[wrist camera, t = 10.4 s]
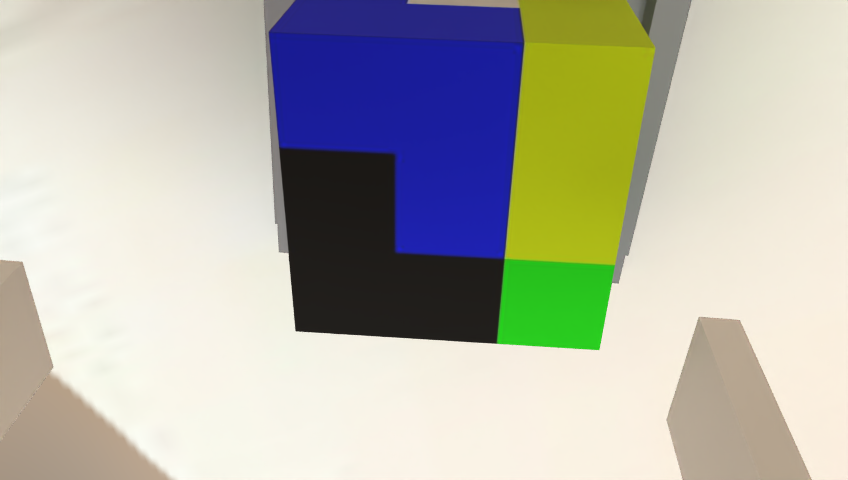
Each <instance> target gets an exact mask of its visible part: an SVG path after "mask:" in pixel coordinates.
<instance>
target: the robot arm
mask: <svg viewBox="0 0 848 480" xmlns="http://www.w3.org/2000/svg"><path fill="white" fill-rule="evenodd" d="M52 368H53V364H52V360H51V357H50V354H49V350H48V347H47V343H46V340H45V337H44V333H43V330H42V327H41V323H40V320H39V316H38V313H37V310H36V306H35V303H34V299H33V296H32V293H31V289H30V286H29V283H28V279H27V276H26V272H25V269H24V266H23V262H18V261H6V260H0V441H1V440H2V438H3V437H4V436H5V434H6V433H7V431H8V430H9V429H10V427H11V426H12V424H13V423H14V422H15V420H16V419H17V417H18V416H19V414H20V413H21V412H22V410H23V409H24V408H25V406H26V405H27V403H28V402H29V401H30V399H31V398H32V396H33V395H34V394H35V392H36V391H37V389H38V388H39V387H40V385H41V384H42V382H43V381H44V380H45V378H46V377H47V375H48V374H49V373H50V371H51V370H52ZM667 423H668V427H669V431H670V434H671V438H672V442H673V445H674V449H675V453H676V456H677V460H678V464H679V468H680V471H681V475H682V479H683V480H812V479H811V477H810V475H809V473H808V470H807V468H806V466H805V464H804V462H803V459H802V457H801V455H800V453H799V450H798V448H797V446H796V444H795V442H794V439H793V437H792V435H791V433H790V431H789V428H788V426H787V424H786V422H785V419H784V417H783V415H782V413H781V411H780V408H779V406H778V404H777V402H776V399H775V397H774V395H773V393H772V391H771V388H770V386H769V384H768V382H767V379H766V377H765V375H764V373H763V371H762V368H761V366H760V364H759V362H758V360H757V357H756V355H755V353H754V351H753V348H752V346H751V344H750V342H749V340H748V337H747V335H746V333H745V331H744V328H743V326H742V324H741V322H740V320H732V319H720V318H708V317H699V318H698V321H697V325H696V328H695V331H694V334H693V337H692V340H691V344H690V347H689V350H688V353H687V356H686V360H685V363H684V366H683V369H682V372H681V375H680V379H679V382H678V385H677V388H676V391H675V394H674V398H673V401H672V404H671V407H670V410H669V413H668V417H667Z"/></svg>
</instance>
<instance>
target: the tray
mask: <svg viewBox="0 0 848 480" xmlns="http://www.w3.org/2000/svg"><path fill="white" fill-rule="evenodd" d="M294 1H295V0H264V16H265V35H266V54H267V74H268V93H269V113H270V132H271V151H272V171H273V190H274V210H275V224H278V244H279V252H283V253H289V252H288V241H287V230H286V219H285V208H284V197H283V186H282V175H281V164H280V153H279V142H278V131H277V120H276V109H275V98H274V88H273V77H272V66H271V55H270V44H269V33H268V32H269V31H270V29H271V28H272V27H273V26H274V25H275V24H276V22H277V21H278V20H279V19H280V18H281V17H282V15H283V14H284V13H285V12H286V11H287V9H288V8H289V7H290V6H291V5H292V4H293V2H294ZM627 2H628V3H629V5H630V7H631V8H632V10H633V12H634V13H635V15H636V17H637V18H638V20H639V21H640V23H641V25H642V26H643V28H644V30H645V31H646V33H647V35H648V36H649V38H650V39H651V41H652V43H653V44H654V46H655V54H654V59H653V64H652V70H651V75H650V81H649V86H648V91H647V97H646V102H645V107H644V113H643V118H642V123H641V129H640V134H639V140H638V145H637V150H636V156H635V161H634V166H633V172H632V177H631V182H630V188H629V193H628V199H627V204H626V209H625V215H624V220H623V225H622V231H621V236H620V242H619V247H618V252H617V258H616V263H615V268H614V274H613V279H612V283H619V279H620V275H621V271H622V267H623V263H624V259H625V255H626V256H628V254H629V250H630V246H631V242H632V238H633V234H634V230H635V226H636V222H637V218H638V214H639V210H640V206H641V202H642V198H643V194H644V190H645V186H646V182H647V177H648V173H649V169H650V165H651V161H652V157H653V153H654V149H655V145H656V141H657V137H658V133H659V129H660V125H661V121H662V117H663V113H664V109H665V105H666V101H667V97H668V93H669V89H670V85H671V81H672V76H673V72H674V68H675V64H676V60H677V56H678V52H679V48H680V44H681V40H682V36H683V32H684V28H685V24H686V20H687V16H688V12H689V8H690V4H691V0H627Z"/></svg>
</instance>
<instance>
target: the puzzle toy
mask: <svg viewBox="0 0 848 480" xmlns="http://www.w3.org/2000/svg"><path fill="white" fill-rule="evenodd" d="M268 33H269V44H270V55H271V66H272V77H273V88H274V98H275V109H276V120H277V131H278V142H279V153H280V164H281V175H282V186H283V197H284V208H285V219H286V230H287V241H288V252H289V263H290V274H291V285H292V296H293V307H294V318H295V329H296V331H300V332H316V333H332V334H348V335H364V336H380V337H397V338H413V339H429V340H445V341H461V342H477V343H494V344H510V345H526V346H542V347H558V348H574V349H590V350H599V349H600V343H601V338H602V333H603V327H604V322H605V317H606V311H607V306H608V301H609V295H610V290H611V284H612V279H613V274H614V268H615V263H616V258H617V252H618V247H619V242H620V236H621V231H622V225H623V220H624V215H625V209H626V204H627V199H628V193H629V188H630V182H631V177H632V172H633V166H634V161H635V156H636V150H637V145H638V140H639V134H640V129H641V123H642V118H643V113H644V107H645V102H646V97H647V91H648V86H649V81H650V75H651V70H652V64H653V59H654V54H655V46H654V44H653V43H652V41H651V39H650V38H649V36H648V35H647V33H646V31H645V30H644V28H643V26H642V25H641V23H640V21H639V20H638V18H637V17H636V15H635V13H634V12H633V10H632V8H631V7H630V5H629V3H628V2H627V0H295V1H294V2H293V4H292V5H291V6H290V7H289V8H288V9H287V11H286V12H285V13H284V14H283V15H282V17H281V18H280V19H279V20H278V21H277V22H276V24H275V25H274V26H273V27H272V28H271V29H270V31H269V32H268Z"/></svg>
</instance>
